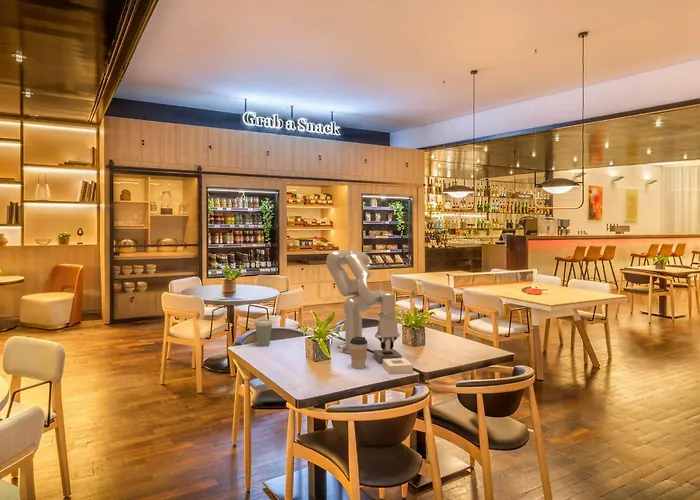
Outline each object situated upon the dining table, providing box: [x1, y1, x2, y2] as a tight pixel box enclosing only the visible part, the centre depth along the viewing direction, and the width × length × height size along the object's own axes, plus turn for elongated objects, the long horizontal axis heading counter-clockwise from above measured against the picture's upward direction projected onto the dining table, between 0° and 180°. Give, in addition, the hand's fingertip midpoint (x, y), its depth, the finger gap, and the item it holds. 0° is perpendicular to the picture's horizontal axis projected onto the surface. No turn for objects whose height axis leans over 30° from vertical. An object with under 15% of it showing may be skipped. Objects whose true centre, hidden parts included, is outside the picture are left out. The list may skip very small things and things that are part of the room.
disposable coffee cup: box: [254, 318, 273, 347], centre depth 290 cm, size 11×11×15 cm
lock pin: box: [382, 337, 391, 354], centre depth 263 cm, size 4×4×12 cm
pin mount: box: [373, 348, 403, 365], centre depth 263 cm, size 12×12×4 cm
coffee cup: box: [350, 336, 368, 370], centre depth 251 cm, size 9×9×15 cm
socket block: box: [381, 357, 414, 375], centre depth 246 cm, size 12×12×4 cm
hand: (387, 348), depth 263 cm, fingers closed on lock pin, 4 cm apart
